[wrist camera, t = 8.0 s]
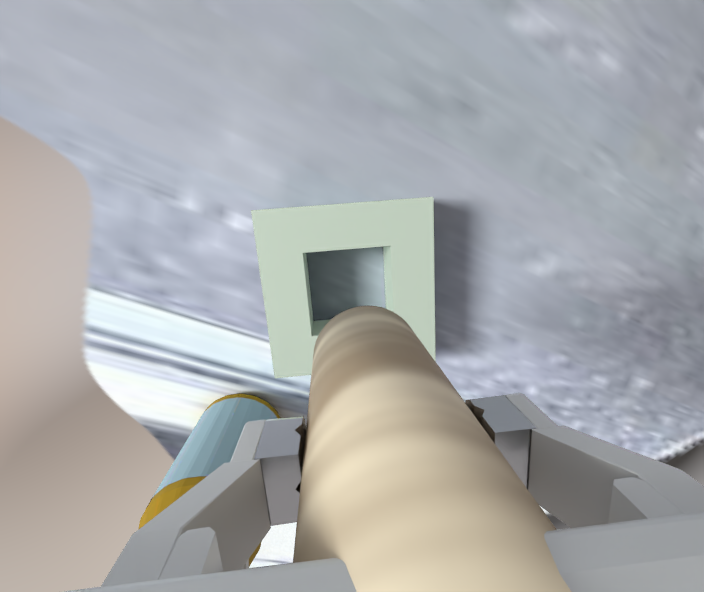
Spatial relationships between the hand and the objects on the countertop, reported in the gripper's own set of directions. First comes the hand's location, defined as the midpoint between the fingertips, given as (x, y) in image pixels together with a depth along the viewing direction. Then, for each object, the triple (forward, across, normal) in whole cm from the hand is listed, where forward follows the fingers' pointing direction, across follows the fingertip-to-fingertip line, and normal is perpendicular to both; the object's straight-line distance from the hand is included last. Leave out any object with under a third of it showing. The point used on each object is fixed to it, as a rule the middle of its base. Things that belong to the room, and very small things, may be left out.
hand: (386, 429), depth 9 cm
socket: (+19, 0, 0) cm, 19 cm away
